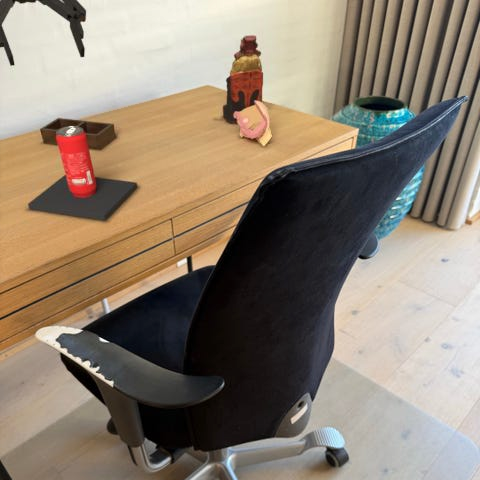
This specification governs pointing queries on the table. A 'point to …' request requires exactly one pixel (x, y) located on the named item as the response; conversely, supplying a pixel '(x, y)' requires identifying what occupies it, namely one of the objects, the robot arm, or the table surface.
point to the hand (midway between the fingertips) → (48, 57)
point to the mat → (84, 199)
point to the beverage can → (76, 161)
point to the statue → (244, 79)
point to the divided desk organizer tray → (94, 131)
